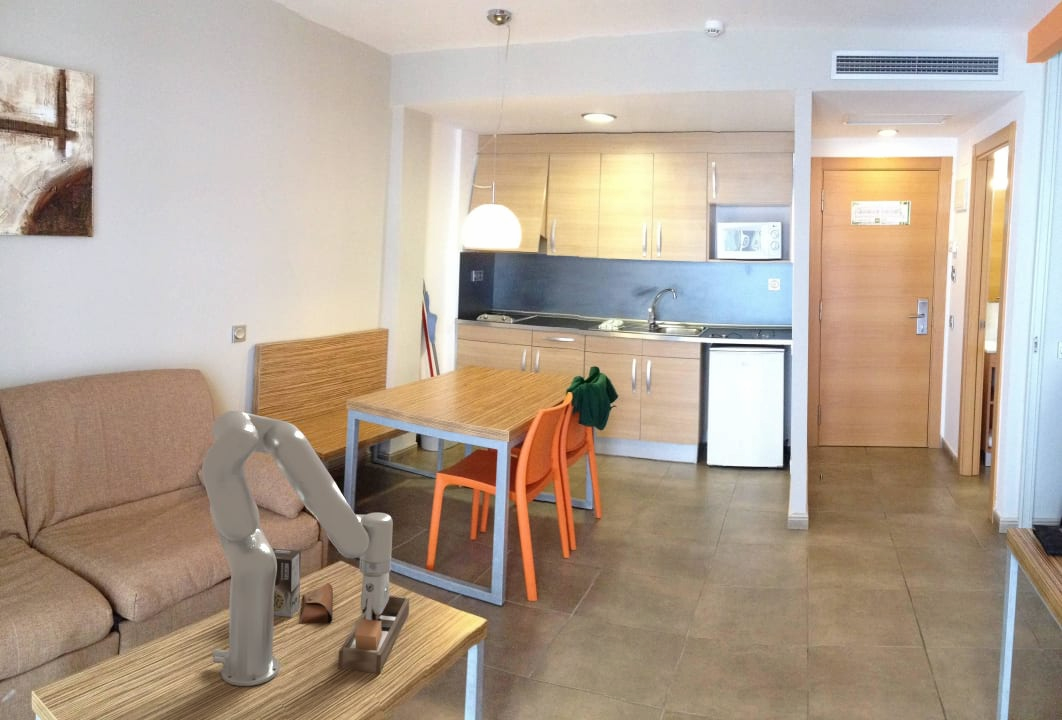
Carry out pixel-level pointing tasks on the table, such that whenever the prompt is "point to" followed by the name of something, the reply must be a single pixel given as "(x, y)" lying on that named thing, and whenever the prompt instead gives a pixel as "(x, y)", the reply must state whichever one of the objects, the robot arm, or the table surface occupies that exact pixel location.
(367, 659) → the trap box
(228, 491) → the robot arm
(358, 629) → the block
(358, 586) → the table surface
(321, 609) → the sunglasses case
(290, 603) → the coffee box
